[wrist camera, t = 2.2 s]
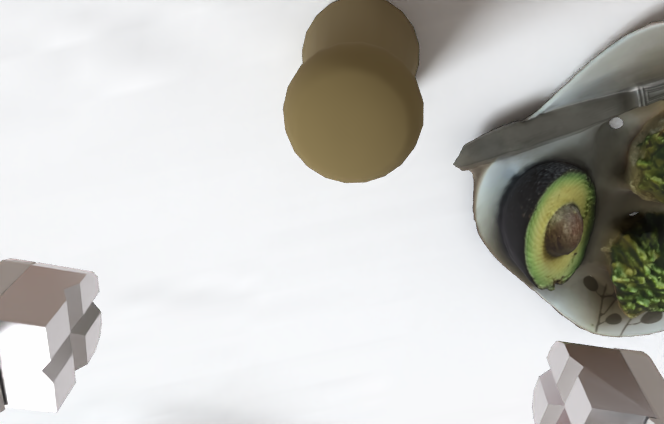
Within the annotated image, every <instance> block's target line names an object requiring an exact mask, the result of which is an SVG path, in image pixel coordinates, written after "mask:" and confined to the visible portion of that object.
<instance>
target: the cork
mask: <svg viewBox="0 0 664 424" xmlns="http://www.w3.org/2000/svg"><path fill="white" fill-rule="evenodd" d="M302 59H303V64H302V65H301V66H300V68H299V70H298V71H297V73H296V74H295V76H294V78H293V79H292V81H291V83H290V84H289V86H288V89H287V93H286V97H285V102H284V106H283V112H284V122H285V130H286V133H287V136H288V138H289V140H290V142H291V145H292V147H293V149H294V151H295V153H296V154H297V155H298V156H299V157H300V158H301V160H302V161H303V162H304V163H305V164H306V165H307V166H308V167H309V168H311V169H312V170H314V171H315V172H317V173H319V174H320V175H322V176H324V177H325V178H329V179H332V180H336V181H340V182H344V183H361V182H368V181H371V180H374V179H377V178H381V177H384V176H386V175H387V174H388V173H390V172H391V171H393V170H394V169H396V168H397V167H399V166H400V165H401V164H402V163H403V162H404V160H405V159H406V158H407V157H408V155H409V154H410V153H411V151H412V150H413V149H414V147H415V146H416V143H417V141H418V138H419V135H420V132H421V129H422V127H423V106H424V103H423V99H422V96H421V93H420V90H419V87H418V84H417V81H416V78H415V75H416V72H417V68H418V65H419V44H418V40H417V37H416V34H415V31H414V28H413V26H412V25H411V23H410V22H409V21H408V19H407V18H406V16H405V15H404V14H403V12H402V11H400V10H399V9H398V8H396V7H395V6H393V5H392V4H390V3H389V2H388V1H386V0H338V1H336V2H333V3H331V4H330V5H328V6H327V7H326V8H325V9H324V10H323V11H321V12H320V13H319V14H318V15H317V16H316V17H315V19H314V20H313V22H312V24H311V25H310V27H309V29H308V30H307V32H306V36H305V40H304V45H303V49H302Z"/></svg>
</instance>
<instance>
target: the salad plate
mask: <svg viewBox="0 0 664 424" xmlns="http://www.w3.org/2000/svg"><path fill="white" fill-rule="evenodd" d="M615 117H619V118H620V119H622V120H623V126H622V127H620V128H617V129H614V128H611V127H610V125H609V121H610V120H611V119H612V118H615ZM453 165H455V166H456V167H458V168H460V169H461V170H462V171H465V170H470V171H471V172H472V174H473V179H474V191H473V213H474V220H475V222H476V227H477V231H478V234H479V236H480V237H481V239H482V241H483V242H484V244H485V245H486V246H487V248H488V249H489V251H490V252H491V253H492V254H493V255H494V257H495V258H496V259H497V260H498V261H499V262H500V263H502V265H503V266H505V267H506V268H507V269H508V270H509V271H511V272H512V273H513V274H514V275H516V276H517V277H518V278H519V279H520V280H521V281H523V282H524V283H525V284H526V285H527V286H528V287H529V288H531V289H532V290H534V291H535V292H536V293H537V294H538V295H539V296H540V297H541V298H542V299H544V300H545V301H546V302H548V303H549V304H550V305H551V306H552V307H553V308H554V309H555V310H556V311H557V312H558V313H559V314H561V315H562V316H564V317H565V318H567V319H568V320H570V321H571V322H572V323H574V324H575V325H576V326H577V327H579V328H581V329H584V330H587V331H589V332H591V333H593V334H598V335H602V336H610V337H631V336H640V335H650V334H653V333H657V332H661V331H664V21H659V22H652V23H649V24H648V25H646V26H644V27H642V28H641V29H638V30H636V31H634V32H631V33H629V34H627V35H625V36H624V37H622V38H621V39H619V40H618V41H617V42H615V43H614V44H612V45H611V46H609V47H608V48H607V49H605V50H604V51H603V52H601V53H600V54H599V55H598V56H596V57H595V58H594V59H592V60H591V61H590V62H589V63H587V64H586V65H585V66H584V67H582V68H581V69H580V70H579V71H578V72H577V73H576V74H575V75H574V76H573V77H572V78H571V79H570V80H569V82H568V83H567V84H565V85H564V86H563V87H562V88H561V89H560V90H558V91H557V92H556V93H555V94H554V95H553V96H552V98H551V99H550V100H548V101H547V102H546V103H545V104H544V105H543V106H542V107H541V108H540V109H539V110H538V111H537V112H535V113H534V114H532V115H531V116H529V117H528V118H526V119H524V120H522V121H515V122H512V123H509V124H507V125H504V126H501V127H499V128H496V129H494V130H491V131H490V132H488V133H486V134H483V135H482V136H480V137H478V138H476V139H474V140H473V141H471V142H469V143H467V144H465V145H464V146H463V148H462V151H461V152H460V154H459V156H458V158H457V159H456V161H455V162H454V164H453ZM633 212H638V213H637V214H636V215H634V216H630V215H629V214H631V213H633Z"/></svg>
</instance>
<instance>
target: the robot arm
mask: <svg viewBox="0 0 664 424" xmlns="http://www.w3.org/2000/svg"><path fill="white" fill-rule="evenodd" d="M98 293H99V284H98V276H97V275H96V274H95V273H94V272H92V271H86V270H80V269H74V268H68V267H62V266H56V265H51V264H45V263H36V262H31V261H25V260H19V259H12V258H9V259H5V260H2V261H1V262H0V412H2V411H3V410H5V406H6V407H15V408H23V409H32V410H40V411H48V412H58V410H59V408H60V407H61V405H62V404H63V402H64V401H65V399H66V397H67V396H68V394H69V393H70V391H71V390H72V388H73V386H74V385H75V383H76V379H75V370H77V369H79V368H81V367H83V366H85V365H87V364H88V363H89V361H90V359H91V357H92V356H93V354H94V352H95V350H96V347H97V344H98V341H99V338H100V334H101V325H102V320H101V311H100V310H99V309H98V308H97V306H96V305H95V304H94V303H93V300H94V299H95V297H96V296H97V294H98ZM547 360H548V363H549V366H550V370H548V371H547V372H545V373H544V374H542V375H541V376H539V378H538V380H537V383H536V386H535V389H534V393H533V403H532V409H533V418H534V422H535V424H664V379H663V377H662V376H661V374H660V372H659V371H658V369H657V368H656V366H655V364H654V363H653V361H652V359H651V358H650V357H649V356H648V355H647V354H646V353H644V352H642V351H634V350H625V349H617V348H614V349H610V348H603V347H596V346H589V345H582V344H575V343H568V342H561V341H556V342H555V343H554V344H553V346H552V347H551V349H550V351H549V353H548V356H547Z"/></svg>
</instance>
